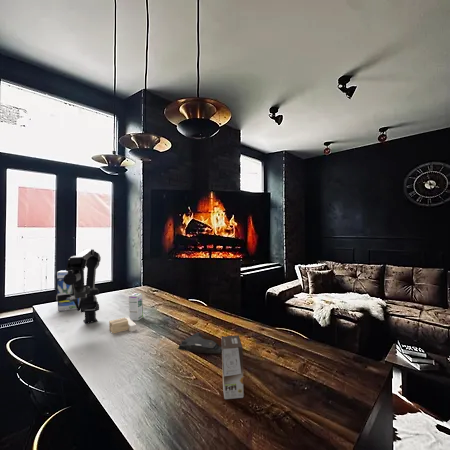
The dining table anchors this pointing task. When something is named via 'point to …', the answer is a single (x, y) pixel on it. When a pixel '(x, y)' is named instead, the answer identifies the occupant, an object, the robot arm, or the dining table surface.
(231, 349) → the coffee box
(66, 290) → the string lights box
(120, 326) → the oak block
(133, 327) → the plank
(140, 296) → the syrup box
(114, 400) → the dining table surface
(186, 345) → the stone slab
